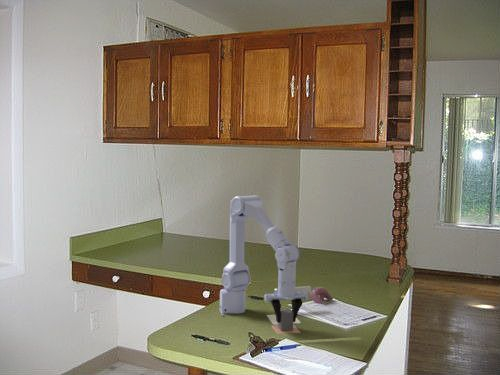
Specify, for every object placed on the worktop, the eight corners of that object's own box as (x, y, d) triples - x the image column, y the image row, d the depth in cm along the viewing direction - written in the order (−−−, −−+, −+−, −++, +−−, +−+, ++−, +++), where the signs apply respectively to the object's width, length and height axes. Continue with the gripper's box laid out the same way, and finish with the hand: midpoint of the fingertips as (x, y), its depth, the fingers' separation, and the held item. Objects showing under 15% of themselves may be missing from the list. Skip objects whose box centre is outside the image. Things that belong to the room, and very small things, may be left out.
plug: (281, 331, 170) (281, 313, 170) (278, 327, 174) (278, 309, 174) (292, 330, 171) (293, 312, 171) (289, 326, 175) (289, 309, 175)
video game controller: (325, 302, 211) (318, 286, 213) (334, 299, 208) (327, 283, 210) (312, 308, 203) (306, 291, 205) (321, 305, 201) (315, 288, 202)
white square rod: (311, 292, 193) (311, 287, 193) (275, 295, 189) (275, 289, 189) (308, 290, 196) (308, 285, 196) (273, 293, 191) (273, 288, 191)
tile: (276, 336, 168) (277, 333, 168) (270, 327, 176) (271, 325, 176) (300, 335, 170) (300, 332, 169) (293, 326, 177) (293, 324, 177)
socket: (273, 326, 177) (273, 306, 176) (263, 313, 191) (264, 294, 190) (301, 325, 179) (301, 304, 178) (289, 312, 193) (290, 293, 192)
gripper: (268, 285, 166) (267, 326, 167) (311, 283, 169) (310, 324, 170) (263, 279, 173) (262, 319, 174) (305, 278, 176) (303, 317, 177)
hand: (285, 321), depth 172 cm, fingers open, 5 cm apart
